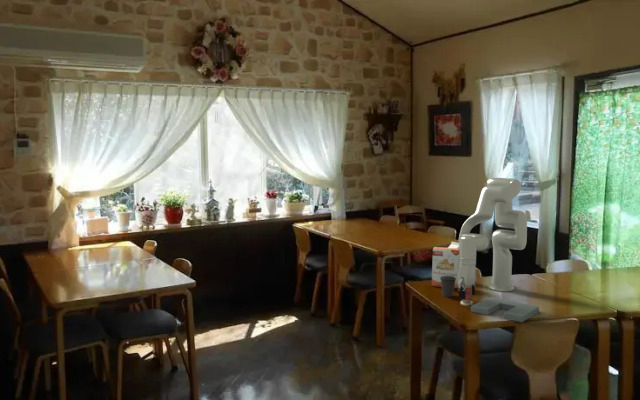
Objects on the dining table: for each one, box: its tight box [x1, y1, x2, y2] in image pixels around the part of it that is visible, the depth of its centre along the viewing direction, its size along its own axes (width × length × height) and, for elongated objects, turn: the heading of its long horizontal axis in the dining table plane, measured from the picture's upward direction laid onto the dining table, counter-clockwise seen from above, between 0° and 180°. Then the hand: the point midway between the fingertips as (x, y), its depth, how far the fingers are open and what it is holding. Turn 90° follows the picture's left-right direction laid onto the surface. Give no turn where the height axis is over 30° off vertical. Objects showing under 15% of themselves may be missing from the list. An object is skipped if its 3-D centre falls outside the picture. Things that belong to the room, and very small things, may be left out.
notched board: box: [470, 297, 540, 323], centre depth 262 cm, size 20×24×2 cm
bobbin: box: [460, 284, 474, 307], centre depth 274 cm, size 6×6×10 cm
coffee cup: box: [440, 276, 456, 298], centre depth 288 cm, size 8×8×10 cm
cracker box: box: [431, 246, 460, 289], centre depth 306 cm, size 14×6×21 cm, turn 70°
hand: (466, 296), depth 274 cm, fingers open, 9 cm apart
